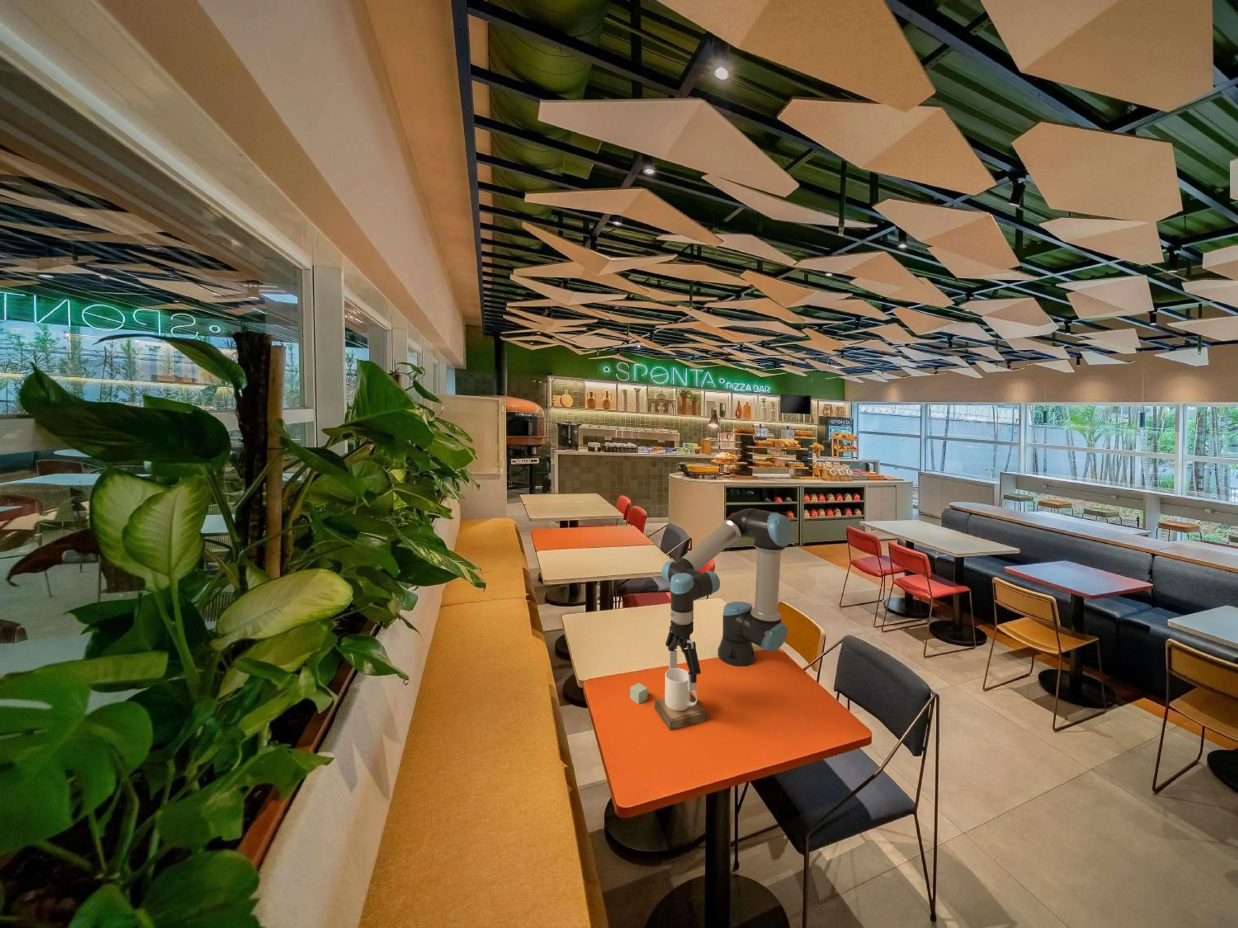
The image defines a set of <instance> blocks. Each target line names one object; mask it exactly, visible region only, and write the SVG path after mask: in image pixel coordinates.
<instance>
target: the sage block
mask: <svg viewBox="0 0 1238 928" xmlns="http://www.w3.org/2000/svg"><path fill="white" fill-rule="evenodd" d="M629 694H630V695H629V698H630V700H632V701H633V702H634V703H636V704H637V705H640V704H642V703H643V702H646V701H647V700H648V687H647V686H644V685H643V684H642V683H640V682H638V683H635V684H634V685H632V686H630V687H629Z"/></svg>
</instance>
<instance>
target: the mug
mask: <svg viewBox="0 0 1238 928" xmlns="http://www.w3.org/2000/svg"><path fill="white" fill-rule="evenodd" d="M688 672H689V670H686V669H683V668H678V667H677V668H673V669H669V668H668V670H666V671H665V674H664V698H665V704H666V706H667V707H668V708H669V709H671V710H673V711H684V710H686V709H687V708H688V707H689V706H690V707H692V706H694V705H695V704H696V703H697V701H698V693H697V690H694V691H692V693H693V694H694V695H695V696H694V697H695V698H696V701H695V702H694V703H693V702H691V701H690V693H691V691H690V692H689V691H688Z"/></svg>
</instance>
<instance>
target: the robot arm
mask: <svg viewBox="0 0 1238 928" xmlns="http://www.w3.org/2000/svg"><path fill="white" fill-rule="evenodd" d="M720 525H721V526H719V527H718V528H717V529H715V530H714V531H713V532H712V533H711V534H709V535H708V536H706V537H705V538H704V539H703V540H702V541H700V542H699V543H698V544H697V545H695V546H694V547H693V548H692V549H691V550H689V551H688V552H687V553H685V554H684V555H683V556H682V557H681V558H680V559H678V560H677V561H673V560H672V561H671V560H669V561H666V562H665V563H664V564H663V566H662V568H661V577H662V579H663V580H664V581H666V582H668V583H669V584H670V585H669V591H670V613H669V615H670V619H671V620H670V625H669V629H668V630H669V631H668V635H667V637H666V641H665V647H667V649H668V660H669V661H668V667H669V668H668V670H669V669H673V668H678V650H677V649H678V647H679V648H680V650H681V652H682V653H683V655H684V658H685V661H686V665H687V668H688V691H689V692H690V693H691V692H693V691H694V690H696V691H697V682H698V681H697V680H698V679H697V677H698V676H697V675H700V674H701V673H702V672H701V667H700V662H699V657H698V653H697V648H696V647H697V646H696V644H697V643H696V642H695V641H692V640H691V635H692V634H693V632H694V601H696V600H699V599H702V598H704V597H707V596H711V595H713V594H714V593H716V592H718V591H719V590H720V587H721V579H720V578H719V576H718V574H717V573H715V571H711V570H709V571H704V572H702V571H701V572H700V570H701V569H702V568H704V567H705V566H706V565H708V563H710V561H712V560H713V559H714V558H715V557H717V555H719V554H720V553H721V552H723V551H724V550H725V549H726V548H728V547H729V546H730V545H731V544H732V543H734V542H738V541H740V540H741V539H742V538H751V539H753V547H754V548H755V549H756V550H757V555H756V556H757V557H756V558H757V559H756V578H755V579H756V581H755V597H754V598H755V599H754V600H755V601H754V608H753V606H752V604H751V603H749V602H746V601H730V602H728V603H726V604H724V606H723V612H722V637H721V640H720V642H719V643H720V644H719V646H718V649H717V656H718V659H719V660H721V661H722V662H724V663H726V664H728V665H730V666H737V667H746V666H750V665H752V664H753V663H754V662H755V660H756V659H755V657H756V653H755V650H754V646H753V644H754V645H756V646H758V647H760V648H761V649H763V650H767V651H768V652H775V651H778V650H779V649H780V648H781V647H782V646H783V644H784V642H785V641H786V639H787V635H788V628H787V626H786V625H785V624H784V623H783V622H782V614H781V613H780V612H779V611H778V609H779V590H780V575H781V572H780V571H781V554H782V552H783V551H784V550H786V546H789V544H791V541H792V539H793V534H794V527H793V525H792V522H791V520H790V519H789V518H788V517H787V516H786V515H784V514H780V513H778V512H773V511H768V510H761V509H757V508H746V509H745V508H744V509H742V510H738V511H737V512H735V513H733V514H731V515H730V516H728V517H726V518H725V519H724V520H722V522H721V524H720Z"/></svg>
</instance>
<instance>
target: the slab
mask: <svg viewBox="0 0 1238 928" xmlns="http://www.w3.org/2000/svg"><path fill="white" fill-rule="evenodd" d="M690 701H691V702H693V703H694V702H695V701H696V696H694V695H693V693H691V692H690ZM654 710H655V712H656V713H657V714H658V716H659V717H660V718H661V720H662V721H663V723H664V724H665V725H666V727H667V728H668V730H669V731H672V730H677V729H681V728H684V727H687V726H693V725H695V724H699V723H703V722H707V721H708V711H707V710H706V708H705V707H704V706H703V705H702V704H701V703H700V702H699V701H698V700H697V703H696V704H695V705H694V706H692V707H690V706H689V707H688V708H687V709H686V710H684V711H673V710H671V709H669V708H668V707H667V706H666V704H665V697H664V698H660V699H656V700H655V699H654Z"/></svg>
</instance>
